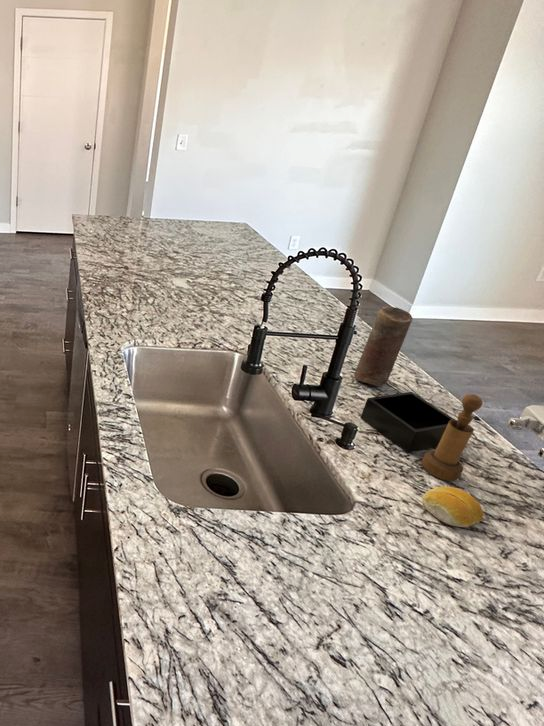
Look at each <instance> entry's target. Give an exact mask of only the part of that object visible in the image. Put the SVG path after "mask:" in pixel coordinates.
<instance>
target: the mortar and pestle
mask: <svg viewBox="0 0 544 726" xmlns="http://www.w3.org/2000/svg"><path fill="white" fill-rule="evenodd" d="M461 405H462V411H461V412H459V413H458V415H457V419H455V420H450V421H449V423H448V425H447V427H446V429H445V432H444V434H443V436H442V438H441V440H440V442H439V444H438V446H437V448H435V449H433V450H427V451H426V452H425V453H424V455H423V458H422V460H421V461H420V462H421V466H422V467H423V469H424V470H425V471H426V472H427V473H428V474H430V475H432V476H433V477H436V478H437V479H440V480H443V481H448V482H456V481H458V480H459V479H460V478H461V475H462V473H463V471H464V465H463V463H461V461H460V459H461V457H462V455H463V452H464V450H465V448H466V446H467V445H468V443H469V441H470V438H471V437H472V435H473V433H474V431H475V430H474V428H473V427H472V425H470V423H471V422H472V421H473V419H474V417H473V416H472V414H473V413H474V412H476V411H478V410H480V408H482V407H483V400H482V398H481V397H480V396H479V395H476V394H473V393H469V394H466V395H464V396H463V397H462V399H461Z"/></svg>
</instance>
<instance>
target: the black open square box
mask: <svg viewBox="0 0 544 726" xmlns="http://www.w3.org/2000/svg"><path fill="white" fill-rule="evenodd" d="M360 419H361V420H362V421H363V422H365V423H366V424H367V425H369V426H370V427H371V428H373V429H374V430H375V431H377V432H378V433H379V434H380V435H382V436H383V437H385V438H386V439H387V440H388V441H390V442H392V443H393V444H394V445H395V446H396V447H398V448H399V449H401V450H402V451H403V452H404V453H406V454H409V453H411V454H412V453H415V452H421V451H429V450H432V449H433V450H434V449H436V448H437V446H438V444H439V442H440V440H441V438H442V436H443V434H444V432H445V429H446V427H447V425H448V423H449V421H450V420H456V418H453V417H452V416H451V415H449V414H448V413H446V412H444V411H443V410H441V409H439V408H438V407H436V406H435V405H433V404H432V403H430V402H429V401H427V400H426V399H424V398H422V397H421V396H419V395H417V394H416V393H414V392H413V391H407V392H400V393H393V394H386V395H379V396H372V397H367V398H366V402H365V404H364V407H363V410H362V412H361V415H360Z"/></svg>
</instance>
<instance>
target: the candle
mask: <svg viewBox="0 0 544 726" xmlns="http://www.w3.org/2000/svg"><path fill="white" fill-rule="evenodd" d="M412 322H413V316H412V314H411V313H410V312H408V311H406V310H404V309H402V308H399V307H394V306H383V307H381V308H379V310H378V312H377V315H376V317H375V319H374V322H373V326H372V328H371V329H370V332H369V335H368V338H367V341H366V344H365V346H364V348H363V351H362V353H361V355H360V358H359V361H358V363H357V365H356V368H355V371H354V374H353V376H354V377H355V379H356V380H357V381H359V382H362V383H365V384H367V385H369V386H373V387H381V386H385V385H386V384H388V381H389V379H390V376H391V373H392V371H393V370H394V366H395V363H396V361H397V358H398V356H399V354H400V351H401V348H402V346H403V344H404V341H405V339H406V337H407V334H408V331H409V329H410V327H411V324H412Z"/></svg>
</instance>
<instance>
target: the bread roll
mask: <svg viewBox="0 0 544 726" xmlns="http://www.w3.org/2000/svg"><path fill="white" fill-rule="evenodd" d="M421 501H422V505H423V506H424V508H425V509H426V511H427V512H428V513H429V514H431V515H432V516H433V517H435V519H437V520H439V521H441V522H442V523H444V524H446V525H449V526H452V527H457V528H467V527H471V526H473V525H475V524H477V523H480V522H481V521H483V519H484V511H483V508H482V506H481V504H480V503H479V502H478V500H477V499H476V498H475V497H473V496H472V495H471V494H470V493H468V492H467V491H464V490H462V489H461V488H457V487H451V486H437V487H435V488H432V489H429V490H428V491H426V492H425V493H424V494H423V496H422V499H421Z"/></svg>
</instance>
